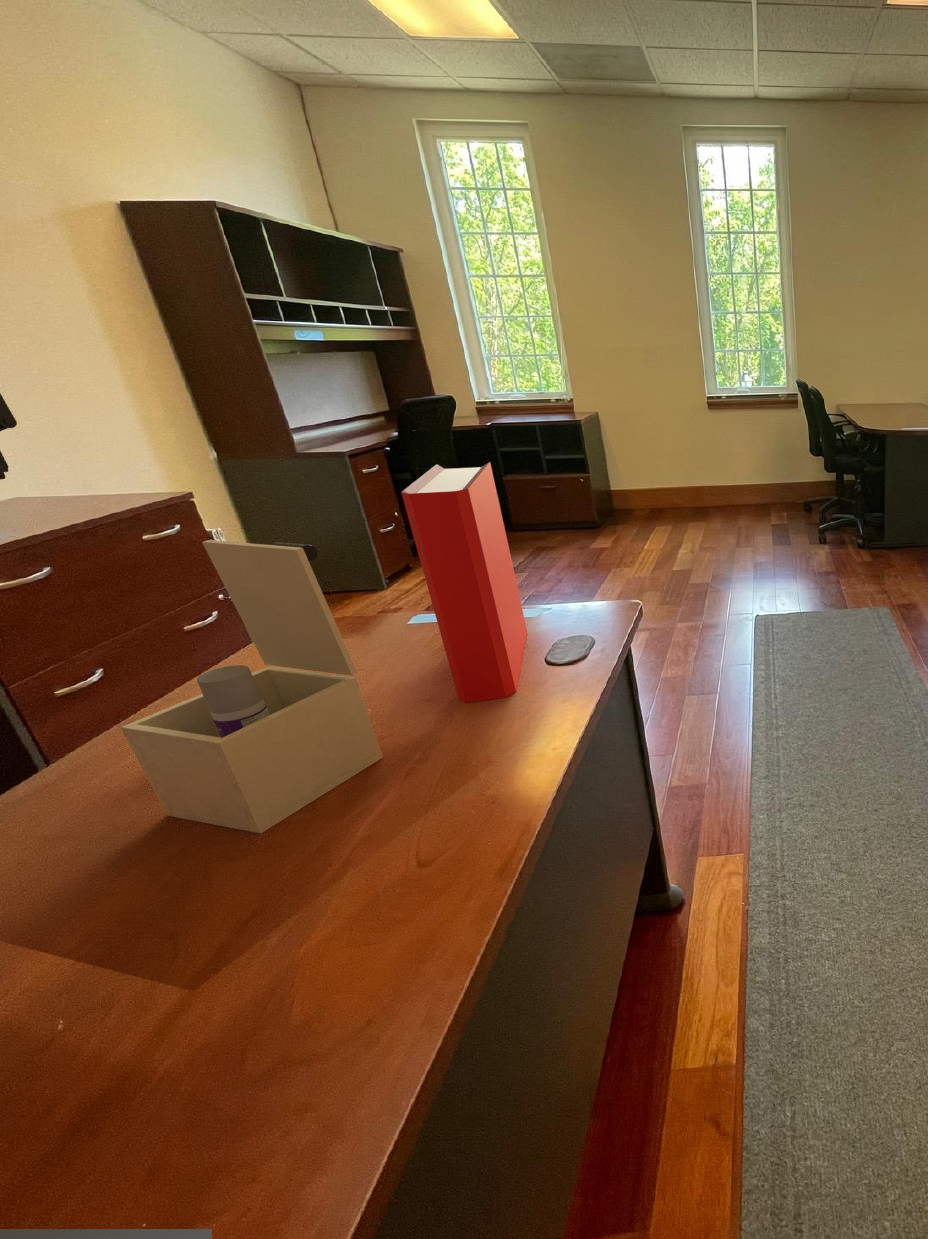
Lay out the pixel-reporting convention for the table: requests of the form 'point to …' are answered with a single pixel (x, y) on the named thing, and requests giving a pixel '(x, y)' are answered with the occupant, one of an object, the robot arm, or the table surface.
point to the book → (469, 578)
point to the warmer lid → (282, 604)
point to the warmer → (257, 751)
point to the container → (232, 698)
